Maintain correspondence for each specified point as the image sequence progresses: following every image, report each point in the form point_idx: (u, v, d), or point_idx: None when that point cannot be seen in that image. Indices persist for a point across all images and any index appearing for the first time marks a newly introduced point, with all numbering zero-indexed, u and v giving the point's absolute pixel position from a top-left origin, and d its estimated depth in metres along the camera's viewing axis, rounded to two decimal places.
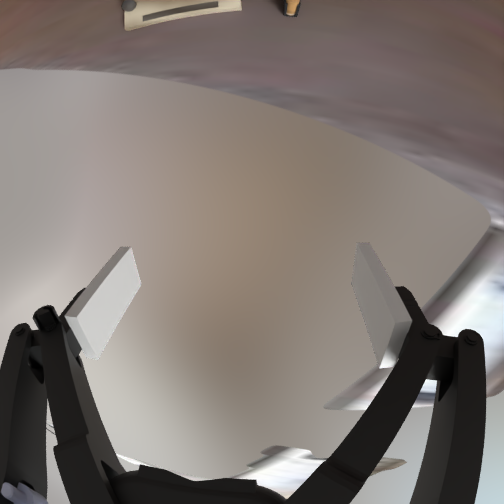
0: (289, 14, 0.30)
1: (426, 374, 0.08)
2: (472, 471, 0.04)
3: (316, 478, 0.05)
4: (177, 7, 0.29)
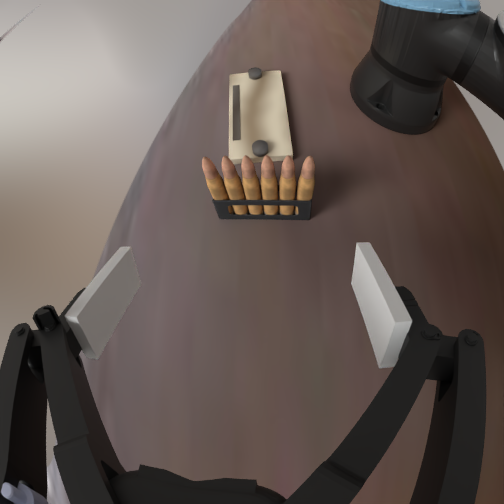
0: None
1: (426, 374, 0.08)
2: (472, 472, 0.04)
3: (316, 478, 0.05)
4: (240, 108, 0.38)
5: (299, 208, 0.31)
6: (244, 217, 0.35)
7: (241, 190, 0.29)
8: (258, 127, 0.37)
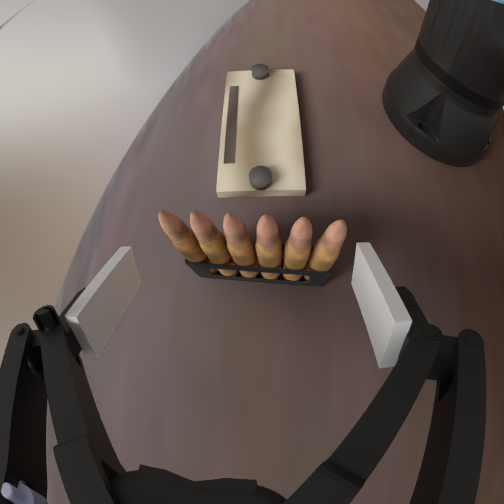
0: None
1: (426, 374, 0.08)
2: (471, 472, 0.04)
3: (316, 478, 0.05)
4: (237, 118, 0.29)
5: (311, 277, 0.21)
6: (232, 278, 0.25)
7: (226, 253, 0.19)
8: (260, 146, 0.27)
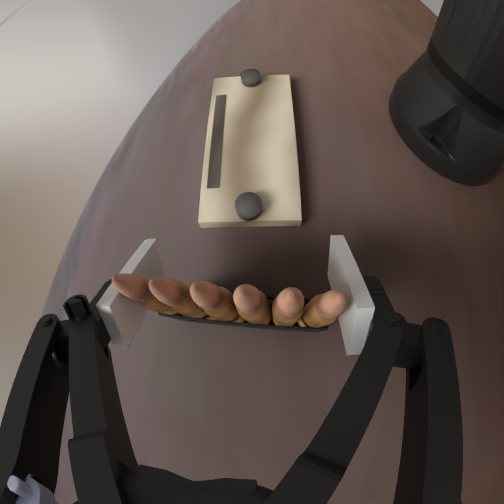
0: None
1: (393, 359, 0.09)
2: (453, 458, 0.05)
3: (296, 471, 0.05)
4: (223, 133, 0.25)
5: None
6: None
7: (203, 309, 0.16)
8: (249, 166, 0.24)
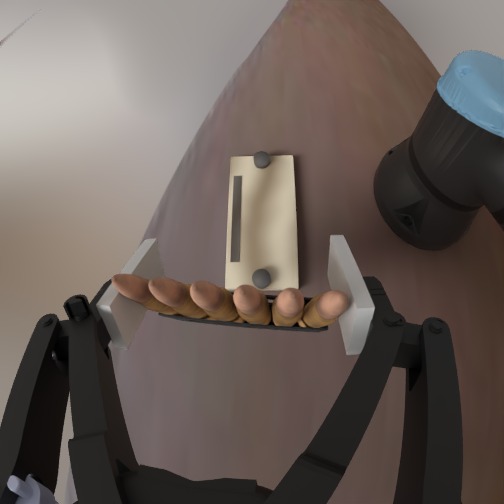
0: None
1: (393, 359, 0.09)
2: (453, 458, 0.05)
3: (296, 471, 0.05)
4: (241, 214, 0.35)
5: None
6: (216, 324, 0.21)
7: (203, 309, 0.16)
8: (261, 245, 0.34)
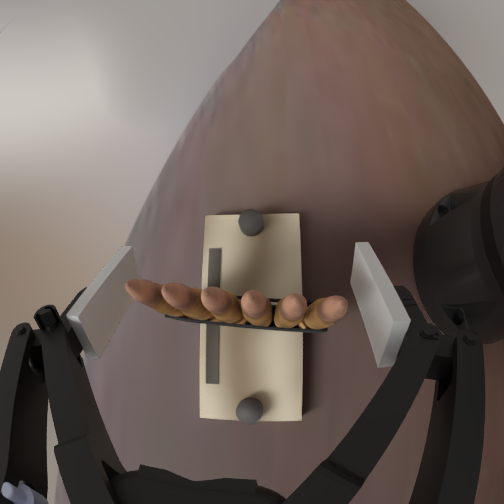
0: None
1: (425, 373, 0.08)
2: (471, 471, 0.04)
3: (315, 478, 0.05)
4: None
5: (305, 331, 0.19)
6: (219, 325, 0.22)
7: (209, 311, 0.17)
8: (249, 361, 0.22)
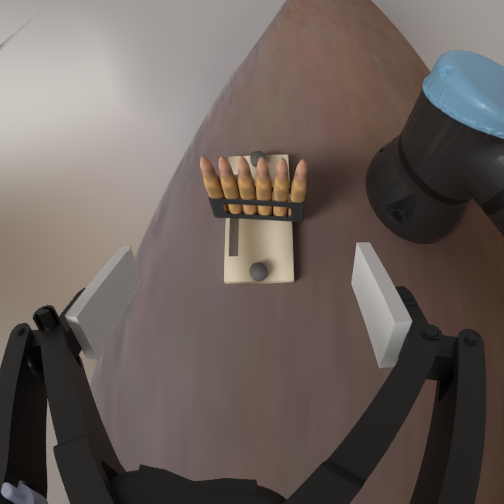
0: None
1: (426, 374, 0.08)
2: (472, 471, 0.04)
3: (316, 478, 0.05)
4: None
5: (292, 210, 0.33)
6: (238, 216, 0.36)
7: (236, 190, 0.30)
8: (258, 240, 0.35)
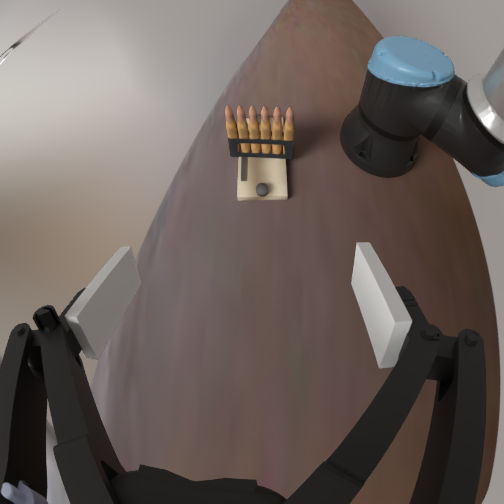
0: None
1: (426, 374, 0.08)
2: (471, 471, 0.04)
3: (316, 478, 0.05)
4: None
5: (285, 147, 0.46)
6: (248, 155, 0.49)
7: (247, 131, 0.43)
8: (261, 170, 0.48)
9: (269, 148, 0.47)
